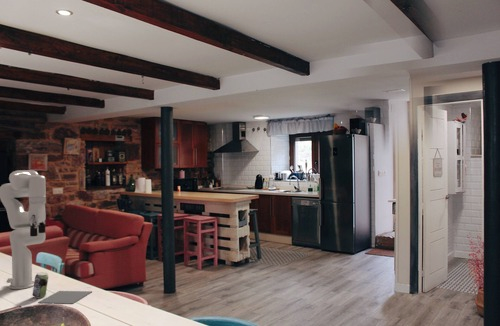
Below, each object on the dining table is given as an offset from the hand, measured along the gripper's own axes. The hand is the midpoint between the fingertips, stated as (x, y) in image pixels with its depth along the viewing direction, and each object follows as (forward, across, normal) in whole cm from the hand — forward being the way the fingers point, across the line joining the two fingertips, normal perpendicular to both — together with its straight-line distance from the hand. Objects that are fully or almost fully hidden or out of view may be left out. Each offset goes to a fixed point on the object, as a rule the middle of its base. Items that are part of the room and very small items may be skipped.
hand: (38, 234), depth 207 cm
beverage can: (+32, -1, 0) cm, 32 cm away
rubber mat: (+32, +2, +14) cm, 34 cm away
